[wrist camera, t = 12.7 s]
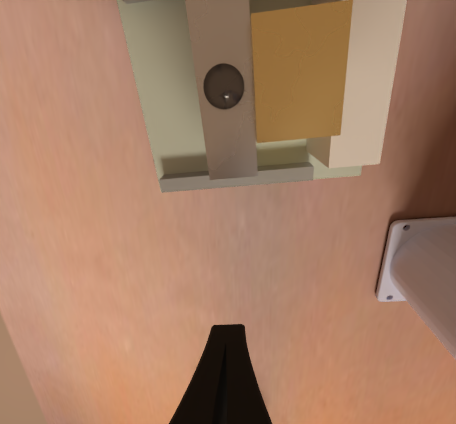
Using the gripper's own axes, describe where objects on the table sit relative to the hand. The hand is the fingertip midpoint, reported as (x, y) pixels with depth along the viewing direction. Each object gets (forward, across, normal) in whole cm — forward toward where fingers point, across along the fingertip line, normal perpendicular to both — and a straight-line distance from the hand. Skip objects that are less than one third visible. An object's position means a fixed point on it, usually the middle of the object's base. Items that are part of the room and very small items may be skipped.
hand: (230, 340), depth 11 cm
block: (+9, -4, -10) cm, 14 cm away
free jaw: (+9, -1, -10) cm, 13 cm away
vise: (+10, -2, -10) cm, 14 cm away
